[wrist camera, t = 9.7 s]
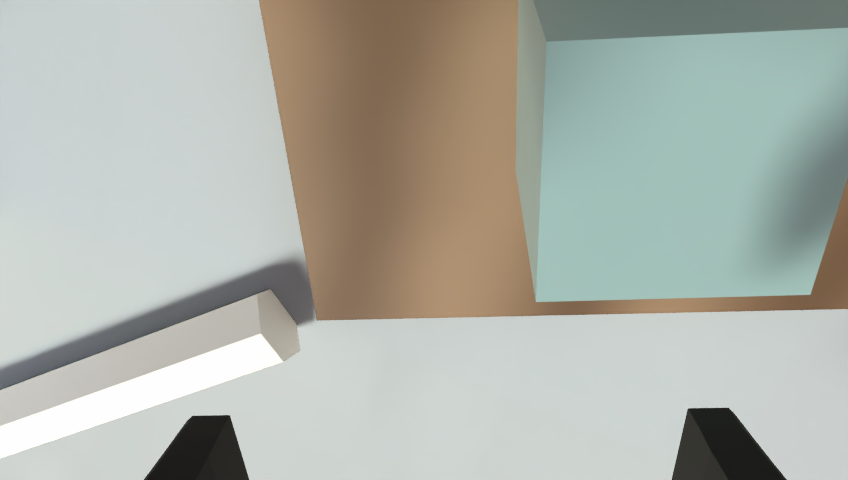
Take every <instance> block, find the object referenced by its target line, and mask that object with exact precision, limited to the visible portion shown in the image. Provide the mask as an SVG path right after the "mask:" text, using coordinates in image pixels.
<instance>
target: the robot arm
mask: <svg viewBox="0 0 848 480" xmlns="http://www.w3.org/2000/svg"><path fill="white" fill-rule="evenodd" d="M144 480H249V478H248V474H247V471H246V468H245V465H244V461H243V458H242V455H241V451H240V448H239V445H238V441H237V438H236V435H235V431H234V428H233V425H232V421H231V418H230V415H223V416H192V417H191V418H190V419H189V420H188V421H187V422H186V423H185V425H184V426H183V427H182V429H181V430H180V432H179V433H178V434H177V436H176V437H175V438H174V440H173V441H172V442H171V444H170V445H169V447H168V448H167V449H166V451H165V452H164V453H163V455H162V456H161V457H160V459H159V460H158V462H157V463H156V464H155V466H154V467H153V468H152V470H151V471H150V472H149V474H148V475H147V476H146V478H145V479H144ZM672 480H786V478H785V477H784V476H783V475H782V473H781V472H780V471H779V470H778V469H777V467H776V466H775V465H774V464H773V462H772V461H771V460H770V459H769V457H768V456H767V455H766V454H765V452H764V451H763V450H762V449H761V447H760V446H759V445H758V443H757V442H756V441H755V440H754V438H753V437H752V436H751V435H750V433H749V432H748V431H747V429H746V428H745V427H744V426H743V424H742V423H741V422H740V420H739V419H738V418H737V416H736V415H735V414H734V413H733V412H732V411H731V410H730V409H729V408H690V409H688V411H687V415H686V420H685V424H684V428H683V433H682V437H681V442H680V446H679V450H678V455H677V459H676V463H675V468H674V472H673V477H672Z"/></svg>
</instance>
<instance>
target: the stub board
mask: <svg viewBox="0 0 848 480" xmlns="http://www.w3.org/2000/svg"><path fill="white" fill-rule="evenodd" d="M259 3H260V8H261V14H262V19H263V25H264V30H265V36H266V41H267V47H268V53H269V58H270V64H271V69H272V75H273V80H274V86H275V91H276V97H277V102H278V108H279V113H280V119H281V125H282V130H283V136H284V141H285V147H286V152H287V158H288V163H289V169H290V174H291V180H292V185H293V191H294V197H295V202H296V208H297V213H298V219H299V224H300V230H301V235H302V241H303V246H304V252H305V257H306V263H307V269H308V274H309V280H310V285H311V291H312V296H313V302H314V307H315V313H316V318H317V320H356V319H402V318H448V317H494V316H540V315H587V314H633V313H679V312H725V311H771V310H817V309H848V178H847V182H846V185H845V188H844V191H843V194H842V197H841V200H840V204H839V207H838V210H837V213H836V216H835V219H834V222H833V225H832V229H831V232H830V235H829V238H828V241H827V244H826V247H825V250H824V254H823V257H822V260H821V263H820V266H819V269H818V272H817V276H816V279H815V282H814V285H813V288H812V291H811V294H810V295H785V296H747V297H709V298H671V299H633V300H596V301H558V302H536V300H535V293H534V287H533V280H532V274H531V267H530V261H529V254H528V248H527V241H526V235H525V228H524V222H523V215H522V209H521V203H520V196H519V190H518V183H517V177H516V170H515V167H516V110H517V52H518V0H259Z"/></svg>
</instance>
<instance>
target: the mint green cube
mask: <svg viewBox="0 0 848 480" xmlns="http://www.w3.org/2000/svg"><path fill="white" fill-rule="evenodd" d="M515 170H516V177H517V183H518V190H519V196H520V203H521V209H522V215H523V222H524V228H525V235H526V241H527V248H528V254H529V261H530V267H531V274H532V280H533V287H534V293H535V300H536V302H558V301H596V300H633V299H671V298H709V297H747V296H785V295H810V294H811V291H812V288H813V285H814V282H815V279H816V276H817V272H818V269H819V266H820V263H821V260H822V257H823V254H824V250H825V247H826V244H827V241H828V238H829V235H830V232H831V229H832V225H833V222H834V219H835V216H836V213H837V210H838V207H839V204H840V200H841V197H842V194H843V191H844V188H845V185H846V182H847V178H848V0H518V52H517V110H516V167H515Z"/></svg>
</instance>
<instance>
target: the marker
mask: <svg viewBox="0 0 848 480" xmlns="http://www.w3.org/2000/svg"><path fill="white" fill-rule="evenodd" d="M299 351H300V347H299V338H298V330H297V324H296V323H295V321H294V320H293V319H292V317H291V316H290V315H289V313H288V312H287V311H286V309H285V308H284V307H283V305H282V304H281V303H280V301H279V300H278V299H277V297H276V296H275V295H274V293H273V292H272V291H271V289H269V290H266V291H263V292H261V293H258V294H255V295H253V296H250V297H247V298H245V299H242V300H239V301H237V302H234V303H231V304H229V305H226V306H223V307H221V308H218V309H215V310H213V311H210V312H207V313H205V314H202V315H199V316H197V317H194V318H191V319H189V320H186V321H183V322H181V323H178V324H175V325H172V326H170V327H167V328H164V329H162V330H159V331H156V332H154V333H151V334H148V335H146V336H143V337H140V338H138V339H135V340H132V341H130V342H127V343H124V344H122V345H119V346H116V347H114V348H111V349H108V350H106V351H103V352H100V353H98V354H95V355H92V356H90V357H87V358H84V359H82V360H79V361H76V362H74V363H71V364H68V365H66V366H63V367H60V368H58V369H55V370H52V371H50V372H47V373H44V374H42V375H39V376H36V377H34V378H31V379H28V380H26V381H23V382H20V383H17V384H15V385H12V386H9V387H7V388H4V389H1V390H0V458H3V457H6V456H9V455H11V454H14V453H17V452H20V451H23V450H26V449H29V448H32V447H35V446H38V445H41V444H44V443H47V442H50V441H53V440H55V439H58V438H61V437H64V436H67V435H70V434H73V433H76V432H79V431H82V430H85V429H88V428H91V427H94V426H97V425H99V424H102V423H105V422H108V421H111V420H114V419H117V418H120V417H123V416H126V415H129V414H132V413H135V412H138V411H141V410H143V409H146V408H149V407H152V406H155V405H158V404H161V403H164V402H167V401H170V400H173V399H176V398H179V397H182V396H184V395H187V394H190V393H193V392H196V391H199V390H202V389H205V388H208V387H211V386H214V385H217V384H220V383H223V382H226V381H228V380H231V379H234V378H237V377H240V376H243V375H246V374H249V373H252V372H255V371H258V370H261V369H264V368H267V367H270V366H272V365H275V364H278V363H281V362H284V361H285V360H287V359H288V358H290V357H291V356H293V355H294V354H296V353H297V352H299Z"/></svg>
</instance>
